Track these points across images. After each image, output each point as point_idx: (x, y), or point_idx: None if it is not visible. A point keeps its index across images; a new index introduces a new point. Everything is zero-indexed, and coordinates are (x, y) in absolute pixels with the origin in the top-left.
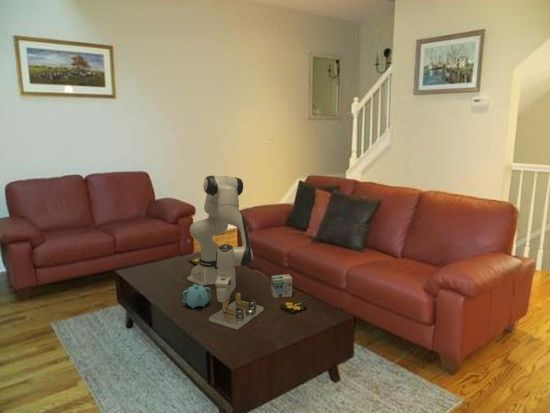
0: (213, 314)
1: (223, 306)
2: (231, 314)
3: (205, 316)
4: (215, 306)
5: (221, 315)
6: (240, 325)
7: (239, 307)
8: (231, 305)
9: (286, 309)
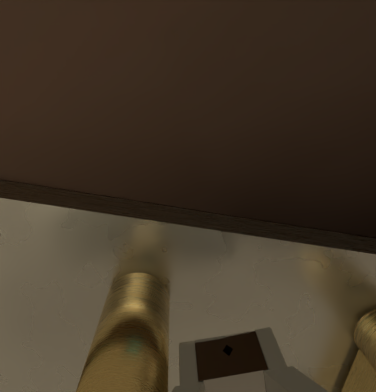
0: (18, 200)
1: (87, 356)
2: None
3: (30, 69)
4: (324, 50)
5: (44, 295)
6: None
7: None
8: (319, 282)
9: None
